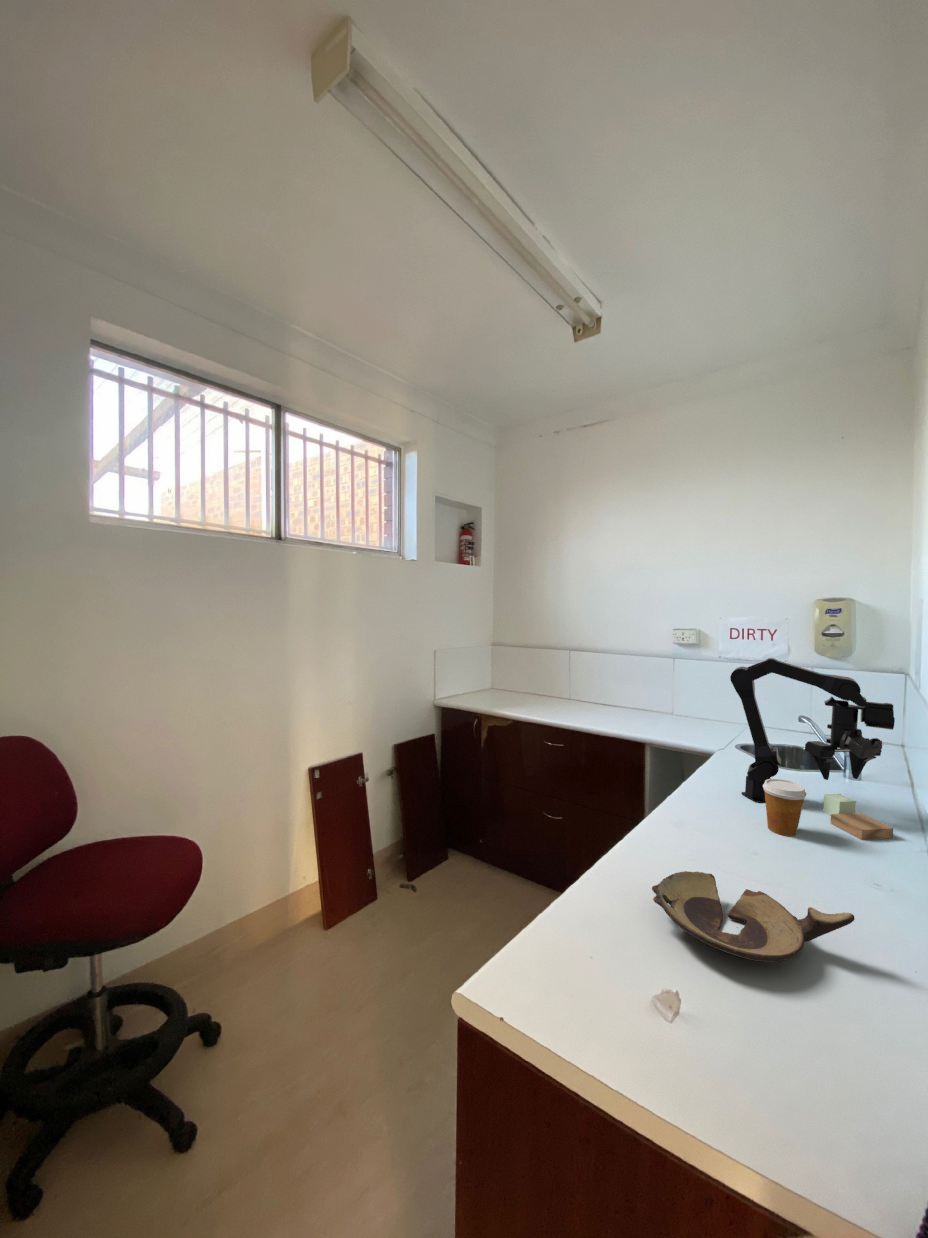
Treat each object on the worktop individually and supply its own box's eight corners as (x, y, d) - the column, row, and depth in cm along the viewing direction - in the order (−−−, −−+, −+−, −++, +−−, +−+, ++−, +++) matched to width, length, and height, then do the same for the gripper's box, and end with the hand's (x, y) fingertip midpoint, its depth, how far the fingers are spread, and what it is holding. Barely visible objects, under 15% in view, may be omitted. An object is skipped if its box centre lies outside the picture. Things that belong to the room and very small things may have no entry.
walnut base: (861, 839, 126) (862, 830, 126) (830, 823, 135) (830, 814, 135) (892, 838, 127) (893, 828, 127) (860, 822, 136) (860, 813, 136)
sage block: (838, 819, 138) (839, 801, 137) (823, 812, 143) (824, 794, 142) (854, 819, 138) (856, 801, 138) (838, 811, 143) (839, 794, 143)
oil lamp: (672, 881, 106) (673, 845, 106) (852, 945, 88) (855, 902, 87) (634, 936, 89) (636, 894, 88) (849, 1031, 70) (853, 977, 70)
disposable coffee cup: (761, 833, 128) (764, 787, 128) (759, 819, 137) (762, 775, 136) (806, 843, 124) (809, 795, 123) (801, 827, 132) (804, 782, 132)
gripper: (840, 732, 130) (836, 791, 131) (902, 731, 133) (898, 789, 133) (804, 720, 141) (801, 776, 142) (863, 720, 144) (859, 774, 144)
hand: (840, 779), depth 140 cm, fingers open, 9 cm apart
